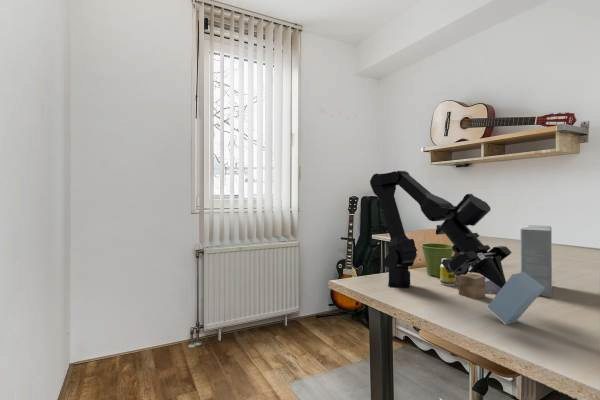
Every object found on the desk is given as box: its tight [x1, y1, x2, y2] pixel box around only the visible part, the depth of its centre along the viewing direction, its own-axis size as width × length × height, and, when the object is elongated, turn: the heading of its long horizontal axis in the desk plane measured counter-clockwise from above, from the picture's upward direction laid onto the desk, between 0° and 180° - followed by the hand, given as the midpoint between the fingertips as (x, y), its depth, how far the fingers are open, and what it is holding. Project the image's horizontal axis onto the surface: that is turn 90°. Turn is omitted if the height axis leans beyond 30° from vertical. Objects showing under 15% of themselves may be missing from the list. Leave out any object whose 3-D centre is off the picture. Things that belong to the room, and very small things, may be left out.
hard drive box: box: [519, 224, 553, 298], centre depth 98 cm, size 16×8×20 cm, turn 141°
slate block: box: [486, 272, 545, 326], centre depth 71 cm, size 5×5×11 cm
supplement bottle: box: [439, 258, 457, 287], centre depth 104 cm, size 5×5×8 cm
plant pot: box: [420, 242, 454, 278], centre depth 116 cm, size 12×12×11 cm
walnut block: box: [458, 272, 486, 300], centre depth 92 cm, size 5×5×6 cm
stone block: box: [475, 273, 501, 294], centre depth 100 cm, size 12×5×10 cm
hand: (505, 287), depth 73 cm, fingers closed
